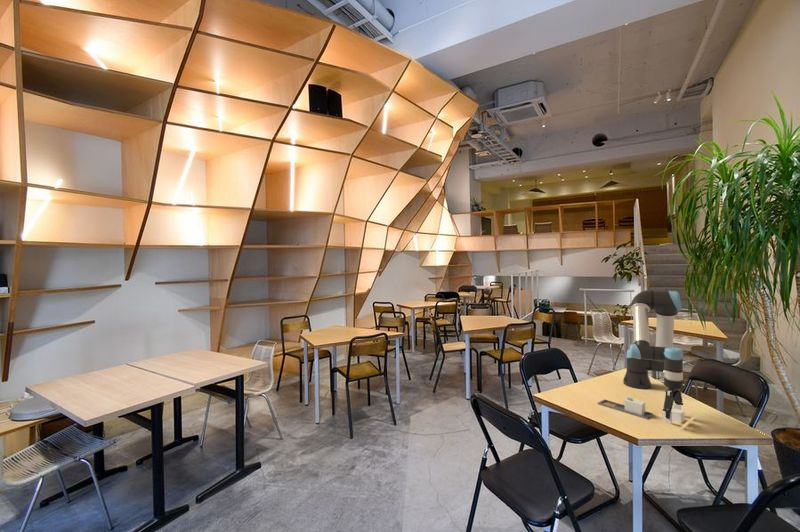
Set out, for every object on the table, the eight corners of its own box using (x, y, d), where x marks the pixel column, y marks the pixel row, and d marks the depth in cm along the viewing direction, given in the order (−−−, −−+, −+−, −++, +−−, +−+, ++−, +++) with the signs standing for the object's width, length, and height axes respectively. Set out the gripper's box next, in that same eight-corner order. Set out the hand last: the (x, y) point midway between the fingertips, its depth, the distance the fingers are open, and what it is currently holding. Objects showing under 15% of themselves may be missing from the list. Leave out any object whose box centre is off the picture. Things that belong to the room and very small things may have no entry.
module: (665, 417, 190) (665, 404, 190) (684, 422, 184) (684, 409, 184) (661, 420, 187) (661, 406, 187) (680, 425, 181) (680, 412, 181)
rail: (602, 401, 211) (602, 398, 211) (653, 416, 191) (653, 413, 191) (596, 405, 206) (596, 402, 206) (647, 421, 186) (647, 417, 186)
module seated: (628, 408, 199) (628, 396, 198) (645, 413, 192) (645, 400, 192) (624, 411, 195) (624, 398, 195) (641, 416, 189) (641, 403, 189)
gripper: (672, 372, 195) (672, 411, 196) (655, 382, 180) (655, 425, 181) (690, 375, 190) (689, 416, 190) (673, 386, 174) (673, 430, 175)
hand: (672, 420), depth 186 cm, fingers open, 13 cm apart
